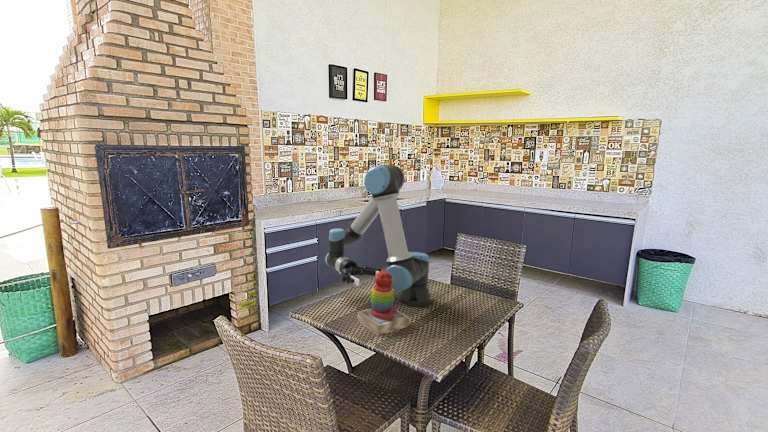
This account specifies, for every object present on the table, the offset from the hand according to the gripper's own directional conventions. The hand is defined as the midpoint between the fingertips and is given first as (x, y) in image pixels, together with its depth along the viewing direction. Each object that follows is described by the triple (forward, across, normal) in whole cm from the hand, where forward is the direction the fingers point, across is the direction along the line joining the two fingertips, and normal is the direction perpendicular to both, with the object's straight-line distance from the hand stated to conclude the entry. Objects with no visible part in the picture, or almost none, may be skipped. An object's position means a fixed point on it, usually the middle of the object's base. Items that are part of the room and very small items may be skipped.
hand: (372, 280), depth 158 cm
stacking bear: (+8, 0, -12) cm, 14 cm away
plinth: (+8, -1, -16) cm, 18 cm away
